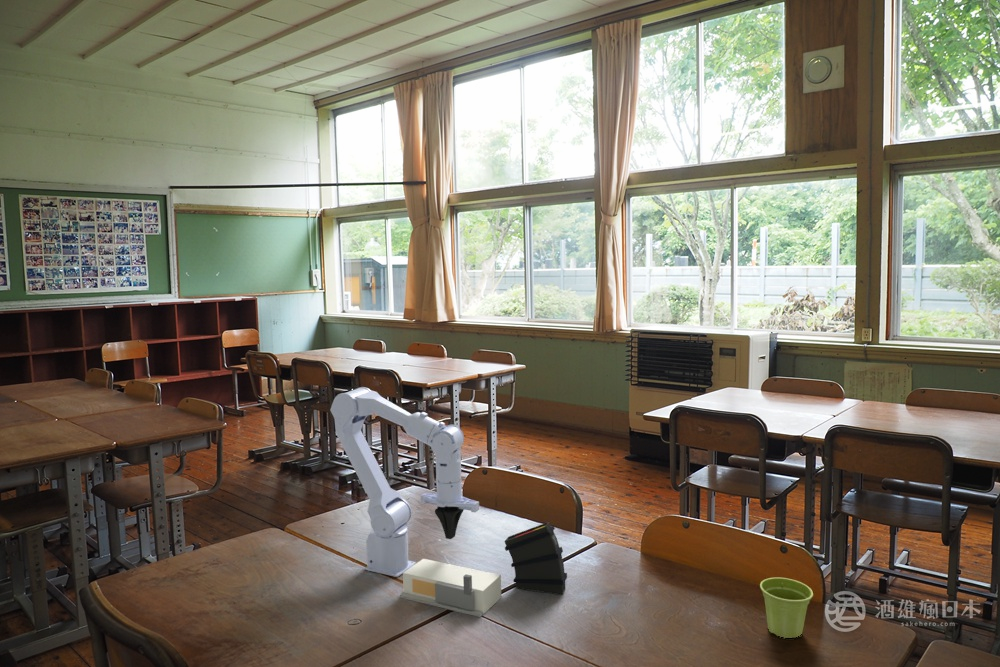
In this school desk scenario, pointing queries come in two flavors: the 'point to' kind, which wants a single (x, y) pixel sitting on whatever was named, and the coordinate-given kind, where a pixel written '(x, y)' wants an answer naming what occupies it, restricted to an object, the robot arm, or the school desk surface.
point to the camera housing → (429, 572)
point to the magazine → (537, 560)
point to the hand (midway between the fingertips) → (450, 537)
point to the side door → (456, 594)
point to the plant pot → (785, 605)
